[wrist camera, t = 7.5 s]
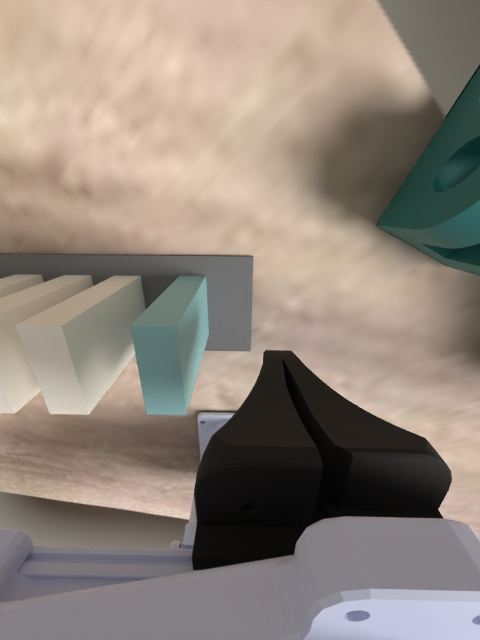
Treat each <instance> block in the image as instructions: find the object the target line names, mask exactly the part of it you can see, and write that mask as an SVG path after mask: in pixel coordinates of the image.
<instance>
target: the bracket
mask: <svg viewBox="0 0 480 640" xmlns="http://www.w3.org/2000/svg"><path fill="white" fill-rule="evenodd" d="M445 117H446V119H445V120H444V122H443V123H442V125H441V127H440V128H439V130H438V131H437V133H436V134H435V136H434V137H433V139H432V140H431V142H430V143H429V145H428V146H427V148H426V149H425V151H424V152H423V154H422V155H421V157H420V158H419V160H418V162H417V163H416V165H415V166H414V168H413V169H412V171H411V172H410V174H409V175H408V177H407V178H406V180H405V181H404V183H403V184H402V186H401V187H400V189H399V190H398V192H397V193H396V195H395V197H394V198H393V200H392V201H391V203H390V204H389V206H388V207H387V209H386V210H385V212H384V213H383V215H382V216H381V218H380V219H379V221H378V222H377V224H376V226H378V227H380V228H381V229H383V230H385V231H387V232H388V233H390V234H392V235H394V236H395V237H397V238H399V239H401V240H402V241H404V242H406V243H408V244H409V245H411V246H413V247H415V248H416V249H418V250H420V251H422V252H423V253H425V254H427V255H429V256H431V257H432V258H434V259H436V260H438V261H439V262H441V263H443V264H445V265H446V266H448V267H451V268H455V269H458V270H462V271H465V272H469V273H473V274H476V275H480V65H479V66H478V68H477V69H476V71H475V72H474V74H473V75H472V77H471V78H470V80H469V81H468V83H467V84H466V86H465V87H464V89H463V91H462V92H461V94H460V95H459V97H458V98H457V100H456V101H455V103H454V104H453V106H452V107H451V109H450V110H449V112H448V114H447V115H446V116H445Z"/></svg>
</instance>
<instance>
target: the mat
mask: <svg viewBox="0 0 480 640" xmlns="http://www.w3.org/2000/svg"><path fill="white" fill-rule="evenodd" d="M15 274H22V275H42V278H43V281H44V282H47V281H50V280H52V279H55V278H58V277H61V276H63V275H91V277H92V282H93V286H95V285H97V284H99V283H101V282H103V281H105V280H107V279H109V278H111V277H113V276H141V281H142V288H143V294H144V301H145V307H146V309H147V308H148V307H149V306H150V305H151V304H152V303H153V302H154V301H155V300H156V299H157V298H158V297H159V296H160V295H161V294H162V293H163V292H164V291H165V290H166V289H167V288H168V287H169V286H170V285H171V284H172V283H173V282H174V281H175V280H176V279H177V278H178V277H179V276H180V275H189V276H206V284H207V306H208V327H209V336H208V339H207V343H206V346H205V350H204V351H250V348H251V312H252V276H253V256H188V255H87V254H0V279H1V278H5V277H8V276H12V275H15Z"/></svg>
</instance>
